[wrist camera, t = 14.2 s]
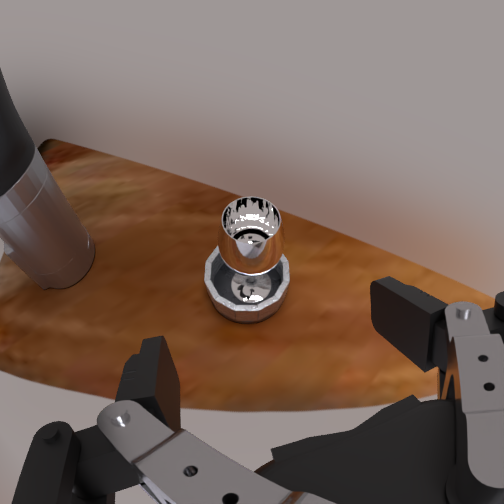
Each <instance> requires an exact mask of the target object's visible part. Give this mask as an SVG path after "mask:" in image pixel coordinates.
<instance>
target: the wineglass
mask: <svg viewBox="0 0 504 504" xmlns="http://www.w3.org/2000/svg"><path fill="white" fill-rule="evenodd" d="M284 244H285V236H284V228H283V224H282V220H281V217H280V213H279V211H278V209H277V208H276V207H275V206H274V205H273V204H272V203H271V202H269V201H267V200H265V199H263V198H259V197H243V198H240V199H237V200H235V201H233V202H232V203H230V204H229V205H228V206H227V207H226V208H225V210H224V212H223V215H222V217H221V221H220V226H219V231H218V248H219V253H220V256H221V258H222V260H223V262H224V263H225V264H226V266H227V267H228V268H229V269H230V270H232V271H233V272H235V273H236V274H235V275H234V276H233V278H232V281H231V289H232V292H233V294H234V295H235V297H236V298H237V299H239V300H240V301H242V302H245V303H258V302H260V301H262V300H264V299H265V298H266V297H267V296H268V295H269V293H270V291H271V287H272V286H271V280H270V277H269V276H268V274H267V273H268V272H269V271H271V270H272V269H273V268H274V267H275V266H276V265H277V264H278V262H279V260H280V259H281V256H282V254H283V250H284Z"/></svg>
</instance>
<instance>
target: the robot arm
mask: <svg viewBox="0 0 504 504" xmlns="http://www.w3.org/2000/svg"><path fill="white" fill-rule="evenodd" d="M0 238H1V239H2V240H3V241H4V251H5V253H6V255H7V256H8V257H9V258H10V259H11V260H13V261H14V262H15V263H16V264H17V265H18V266H19V267H20V268H21V269H22V270H23V271H24V272H25V273H26V274H27V275H28V276H29V277H30V278H31V279H33V280H34V281H35V282H36V283H37V284H38V285H39V286H40V287H41V288H43V289H44V290H45V289H47V288H49V287H52V288H57V289H60V288H66V287H69V286H71V285H73V284H75V283H77V282H78V281H79V280H80V279H81V278H82V277H83V276H84V275H85V274H86V273H87V271H88V270H89V268H90V267H91V264H92V262H93V259H94V255H95V246H94V242H93V240H92V238H91V236H90V235H89V233H88V231H87V230H86V228H85V227H84V226H83V224H82V223H81V221H80V220H79V218H78V217H77V215H76V214H75V212H74V210H73V209H72V207H71V206H70V204H69V203H68V201H67V199H66V198H65V196H64V195H63V193H62V191H61V190H60V188H59V186H58V185H57V183H56V181H55V180H54V178H53V176H52V174H51V173H50V171H49V169H48V168H47V166H46V164H45V162H44V161H43V159H42V157H41V155H40V153H39V152H38V150H37V148H36V146H35V144H34V143H33V141H32V139H31V137H30V135H29V133H28V131H27V130H26V128H25V126H24V124H23V122H22V121H21V119H20V117H19V114H18V112H17V110H16V109H15V106H14V104H13V102H12V99H11V96H10V94H9V91H8V89H7V86H6V83H5V80H4V78H3V75H2V72H1V69H0ZM370 296H371V319H372V323H373V326H374V328H375V330H376V331H377V332H378V333H379V334H380V335H381V336H383V337H384V338H385V339H386V340H387V341H389V342H390V343H391V344H392V345H393V346H394V347H396V348H397V349H398V350H399V351H400V352H402V353H403V354H404V355H405V356H406V357H407V358H409V359H410V360H411V361H412V362H413V363H414V364H416V365H417V366H418V367H419V368H420V369H421V370H423V371H424V372H427V371H429V370H431V369H433V368H434V367H436V366H437V367H438V374H437V389H438V399H437V400H429V401H424V402H420V401H419V400H418V399H417V398H416V397H415V396H414V395H411V396H409V397H407V398H405V399H403V400H401V401H398V402H396V403H394V404H392V405H390V406H388V407H386V408H383V409H382V410H380V411H379V412H378V413H376V414H375V415H373V416H372V417H371V418H369V419H368V420H366V421H365V422H363V423H362V424H360V425H359V426H358V427H356V428H354V429H352V430H349V431H345V432H339V433H333V434H327V435H321V436H314V437H309V438H305V439H302V440H299V441H296V442H293V443H289V444H286V445H283V446H279V447H276V448H272V449H271V452H272V456H273V460H272V461H270V462H268V463H266V464H265V465H263V466H261V467H260V468H258V469H257V470H256V471H254V472H253V471H251V470H249V469H247V468H245V467H244V466H242V465H240V464H238V463H237V462H235V461H233V460H232V459H230V458H228V457H227V456H225V455H223V454H222V453H220V452H219V451H217V450H216V449H214V448H212V447H211V446H209V445H208V444H206V443H205V442H203V441H202V440H200V439H199V438H197V437H196V436H194V435H193V434H191V433H190V432H188V431H186V430H184V429H182V428H181V424H180V383H179V378H178V374H177V371H176V368H175V365H174V363H173V360H172V357H171V354H170V351H169V349H168V346H167V343H166V340H165V338H164V336H158V337H153V338H148V339H143V341H142V346H141V350H140V354H135V355H132V356H131V357H130V358H129V360H128V361H127V362H126V363H125V366H124V369H123V374H122V377H121V381H120V384H119V388H118V391H117V395H116V399H115V403H112V404H110V405H108V406H107V407H105V408H104V409H103V410H102V411H101V412H100V414H99V415H98V418H97V425H95V426H93V427H90V428H87V429H84V430H81V431H77V432H74V431H73V429H72V428H71V427H70V425H69V424H68V423H66V422H61V421H57V422H52V423H49V424H47V425H45V426H43V427H42V428H40V429H39V430H38V431H37V432H36V434H35V435H34V437H33V440H32V443H31V445H30V448H29V451H28V454H27V457H26V460H25V462H24V465H23V469H22V472H21V474H20V477H19V481H18V484H17V487H16V490H15V494H14V497H13V501H12V504H115V492H117V491H120V490H123V489H126V488H129V487H132V486H135V485H139V486H140V487H141V488H142V489H143V490H144V491H145V492H146V493H147V494H148V495H149V496H150V497H151V498H152V499H153V500H154V501H155V502H156V503H157V504H504V291H503V292H500V293H498V294H497V295H496V297H495V305H494V308H490V309H486V310H482V309H481V308H480V307H479V306H478V305H476V304H474V303H470V302H455V303H452V304H450V305H448V304H446V303H444V302H442V301H441V300H439V299H437V298H435V297H433V296H430V295H429V294H427V293H426V292H423V291H422V290H420V289H418V288H416V287H414V286H410V285H405V284H403V283H401V282H400V281H398V280H396V279H394V278H392V277H390V276H388V277H385V278H382V279H379V280H375V281H373V282H372V283H371V285H370Z"/></svg>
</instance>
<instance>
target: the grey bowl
mask: <svg viewBox="0 0 504 504" xmlns="http://www.w3.org/2000/svg"><path fill="white" fill-rule="evenodd" d="M235 274H236V273H235V272H233V271H232V270H230V269H229V268H228V267H227V266H226V264H225V263H224V262H223V260H222V258H221V256H220V253H219V248H218V246H217V247H216V249H215V250H214V251H213V253H212V254H211V255H210V257H209V258H208V259H207V261H206V267H205V279H204V281H205V285H206V288H207V291H208V294H209V296H210V298H211V300H212V303H213V305H214V306H215V308H216V309H217V311H218V312H219V313H220V314H221V315H223V316H224V317H225V318H227V319H229V320H231V321H233V322H236V323H241V324H254V323H258V322H262V321H264V320H266V319H268V318H270V317H271V316H272V315H274V314H275V313H276V312H277V311H278V310H279V308H280V307H281V305H282V303H283V301H284V298H285V296H286V294H287V290H288V286H289V281H290V279H289V262H288V260H287V259H286V257H285V256H284V255H283V254H282V256H281V259H280V260H279V262H278V264H277V265H276V266H275V267H274V268H273V269H272V270H271V271H269V272H268V273H267V274H268V276H269V277H270V280H271V286H272V287H271V291H270V293H269V295H268V296H267V297H266V298H265V299H264V300H262V301H260V302H258V303H245V302H242V301H240V300H239V299H237V298H236V297H235V295H234V294H233V292H232V289H231V281H232V278H233V276H234V275H235Z"/></svg>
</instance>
